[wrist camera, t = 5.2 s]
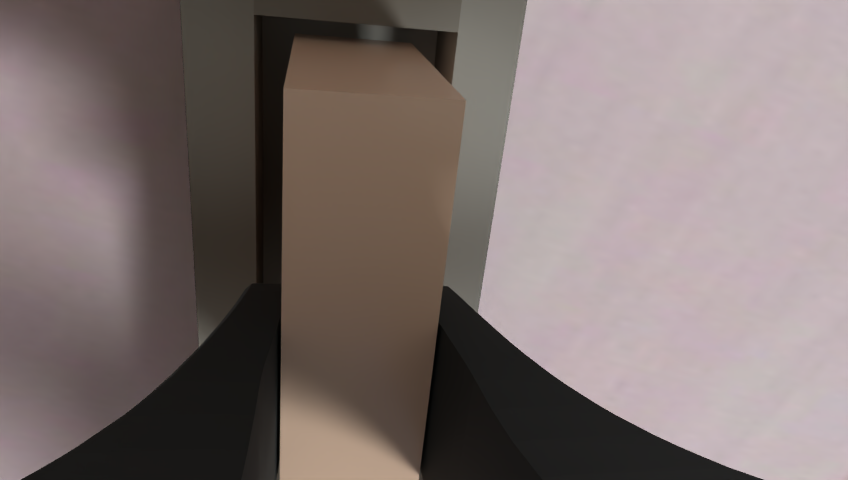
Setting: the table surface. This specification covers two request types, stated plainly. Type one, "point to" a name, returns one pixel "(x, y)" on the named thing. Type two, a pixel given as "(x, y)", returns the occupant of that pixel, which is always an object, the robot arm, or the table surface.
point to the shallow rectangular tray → (263, 124)
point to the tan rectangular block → (362, 253)
